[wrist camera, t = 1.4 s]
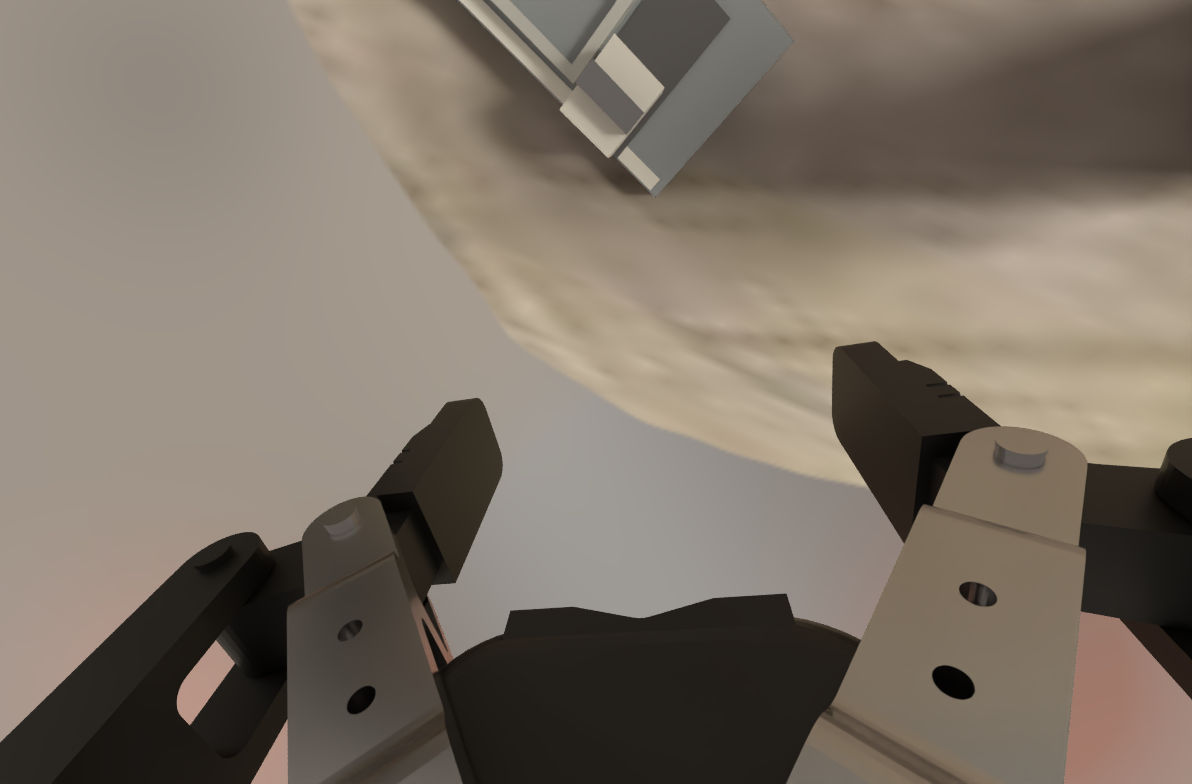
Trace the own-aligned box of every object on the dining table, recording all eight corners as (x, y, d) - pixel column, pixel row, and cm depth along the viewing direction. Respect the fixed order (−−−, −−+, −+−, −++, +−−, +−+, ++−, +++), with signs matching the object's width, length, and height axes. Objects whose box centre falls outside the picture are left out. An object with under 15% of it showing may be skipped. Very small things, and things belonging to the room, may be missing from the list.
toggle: (618, 46, 25) (613, 28, 21) (662, 93, 26) (665, 85, 22) (569, 112, 27) (555, 108, 23) (612, 155, 28) (606, 158, 24)
